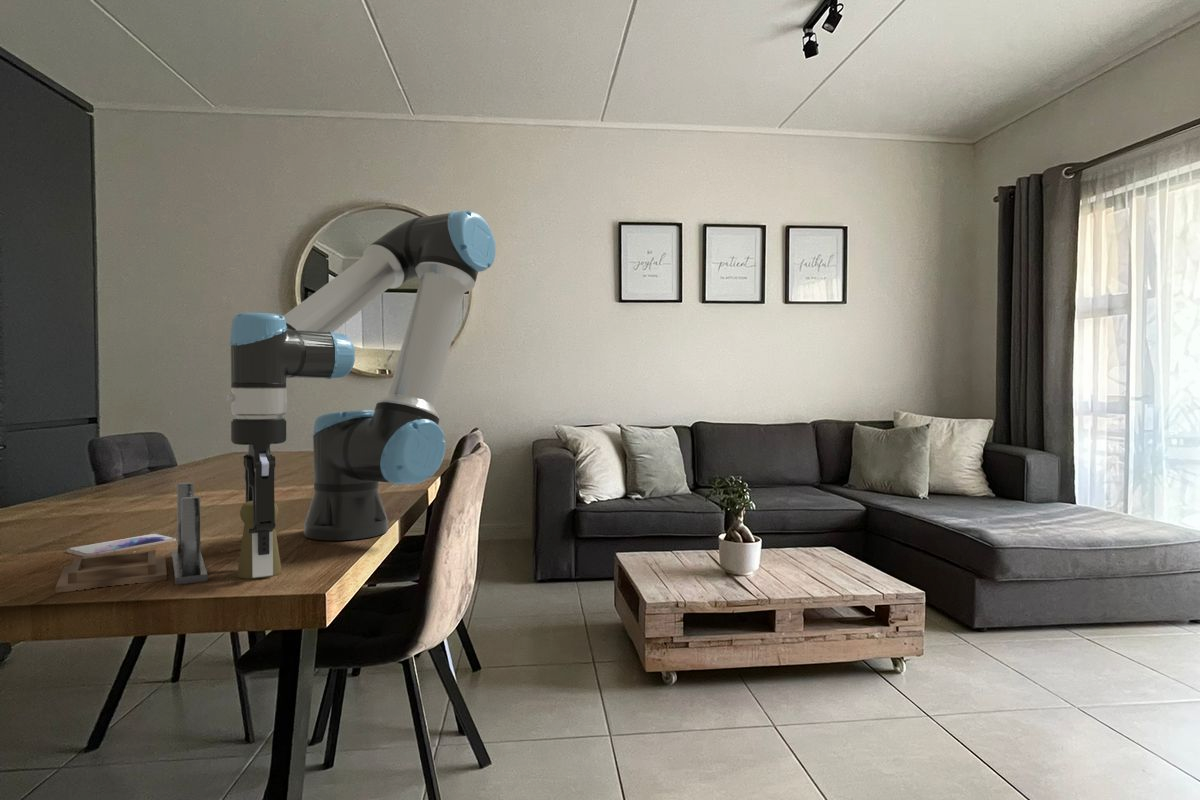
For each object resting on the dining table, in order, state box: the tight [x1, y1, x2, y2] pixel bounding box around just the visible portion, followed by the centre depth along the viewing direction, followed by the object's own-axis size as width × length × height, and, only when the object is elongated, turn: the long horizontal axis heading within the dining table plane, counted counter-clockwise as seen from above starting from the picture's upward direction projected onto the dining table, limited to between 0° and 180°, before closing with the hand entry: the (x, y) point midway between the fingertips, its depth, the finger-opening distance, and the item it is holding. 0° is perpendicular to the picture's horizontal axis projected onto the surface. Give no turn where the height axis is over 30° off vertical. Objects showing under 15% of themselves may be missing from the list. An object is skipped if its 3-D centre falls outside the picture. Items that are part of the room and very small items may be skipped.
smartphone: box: [66, 533, 177, 557], centre depth 129 cm, size 7×1×15 cm
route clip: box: [171, 482, 209, 586], centre depth 113 cm, size 4×20×12 cm, turn 32°
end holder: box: [54, 549, 168, 594], centre depth 109 cm, size 13×13×2 cm
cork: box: [237, 501, 282, 580], centre depth 111 cm, size 6×6×11 cm
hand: (259, 570), depth 111 cm, fingers closed on cork, 6 cm apart
